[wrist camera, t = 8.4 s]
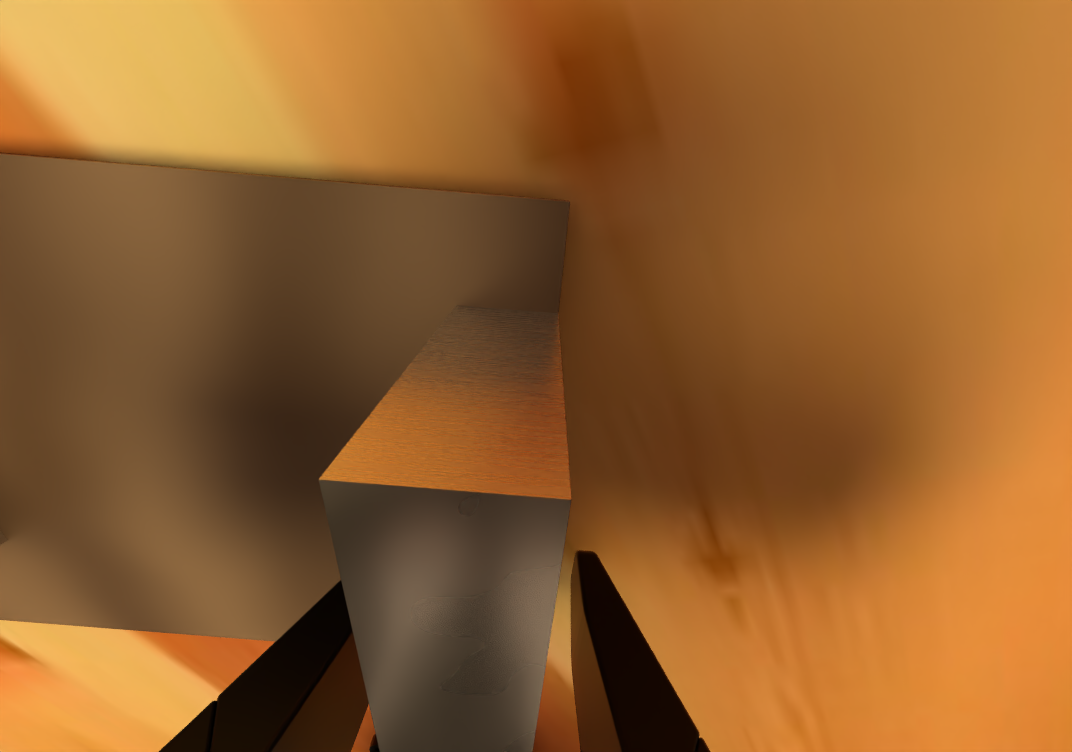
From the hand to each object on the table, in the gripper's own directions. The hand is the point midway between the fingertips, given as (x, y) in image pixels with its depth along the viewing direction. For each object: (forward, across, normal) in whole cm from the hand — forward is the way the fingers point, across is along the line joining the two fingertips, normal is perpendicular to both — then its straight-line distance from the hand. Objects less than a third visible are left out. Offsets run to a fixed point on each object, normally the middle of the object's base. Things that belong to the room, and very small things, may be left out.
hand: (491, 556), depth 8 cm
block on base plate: (+2, +11, 0) cm, 11 cm away
